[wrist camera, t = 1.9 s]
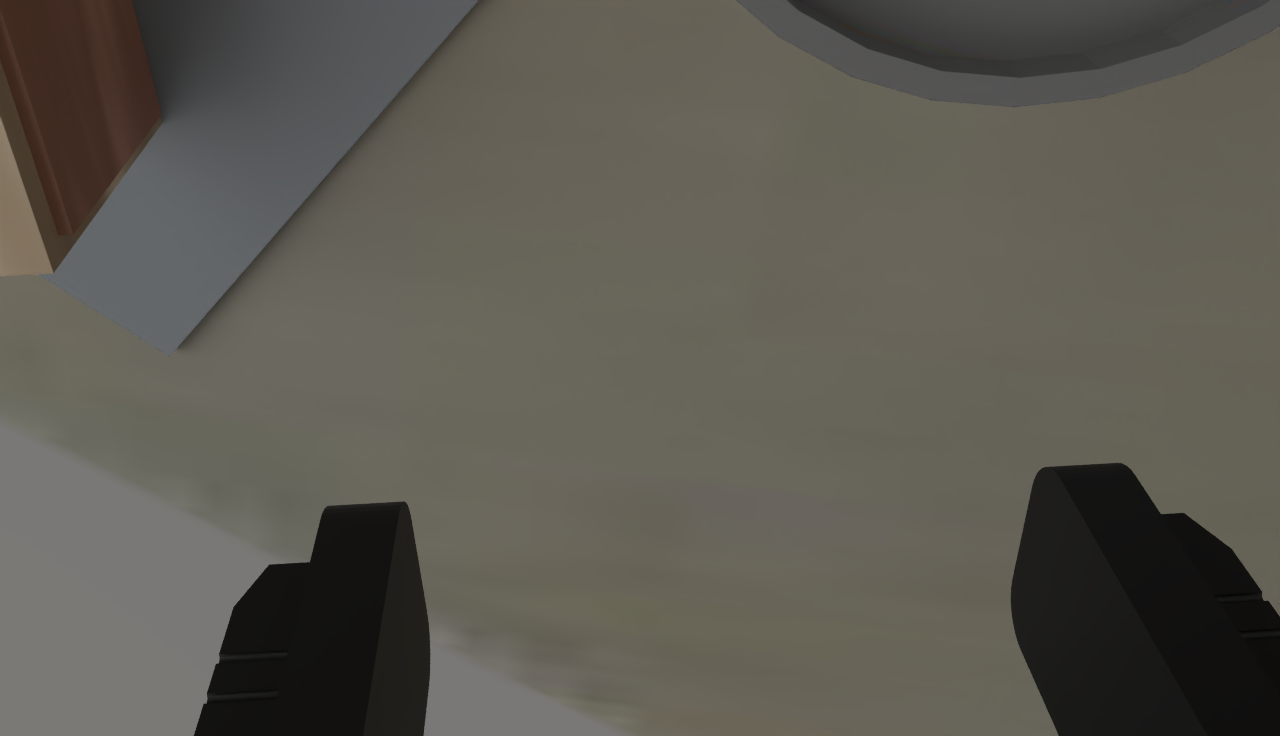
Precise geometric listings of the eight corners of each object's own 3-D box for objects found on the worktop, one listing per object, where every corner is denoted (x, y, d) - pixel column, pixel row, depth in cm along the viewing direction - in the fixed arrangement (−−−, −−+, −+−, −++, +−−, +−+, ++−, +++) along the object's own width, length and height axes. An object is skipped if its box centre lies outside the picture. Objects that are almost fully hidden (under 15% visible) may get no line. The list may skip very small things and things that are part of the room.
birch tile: (99, 126, 30) (-28, 277, 24) (13, -168, 26) (-167, -86, 20) (173, 122, 30) (68, 272, 24) (99, -171, 27) (-52, -90, 20)
